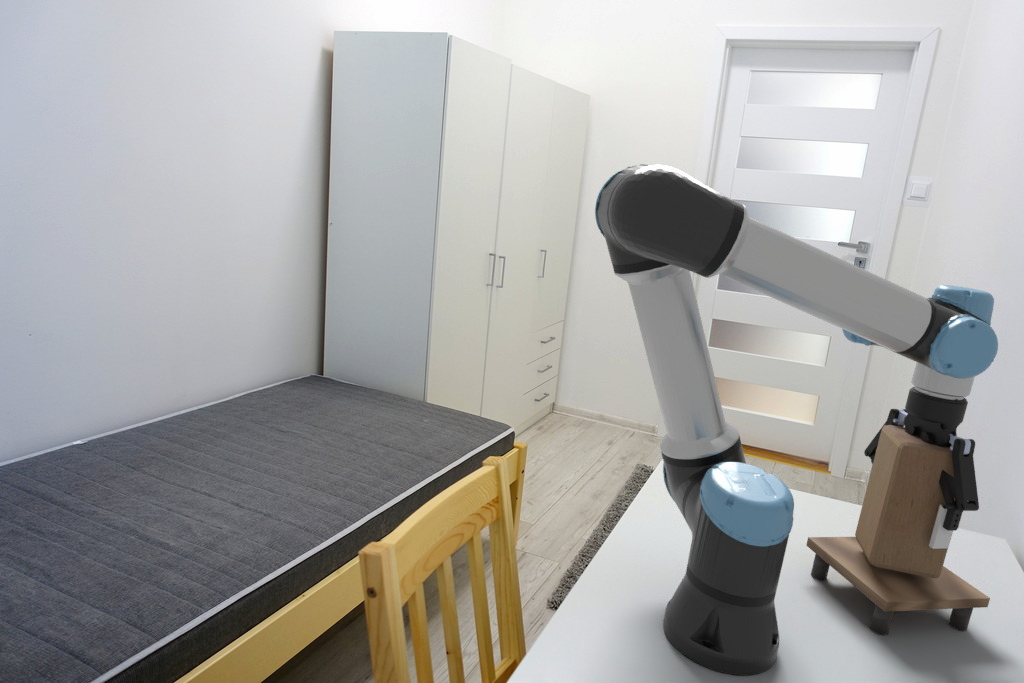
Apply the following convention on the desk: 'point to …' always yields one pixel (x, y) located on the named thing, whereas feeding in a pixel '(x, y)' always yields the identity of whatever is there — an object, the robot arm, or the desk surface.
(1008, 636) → the desk surface
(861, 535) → the wooden block
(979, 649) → the desk surface
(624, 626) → the desk surface
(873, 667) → the desk surface
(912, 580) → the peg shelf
